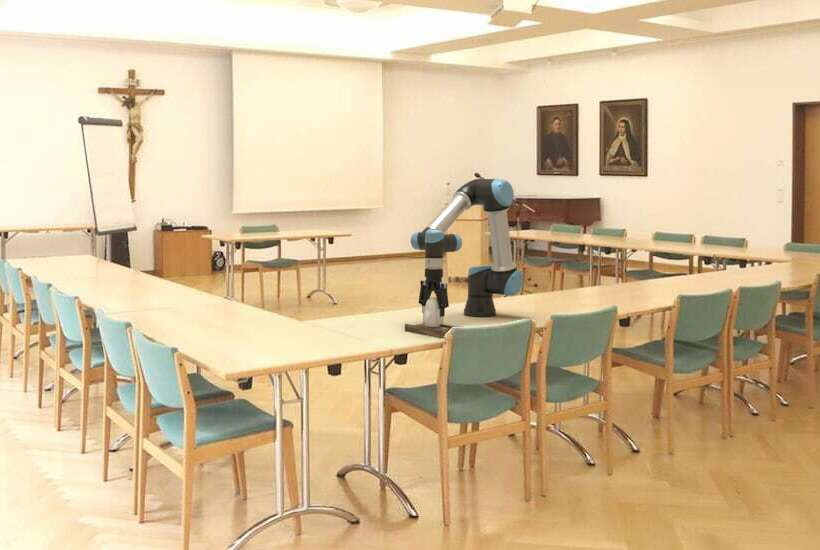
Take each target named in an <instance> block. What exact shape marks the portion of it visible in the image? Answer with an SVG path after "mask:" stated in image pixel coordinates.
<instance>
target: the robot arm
mask: <svg viewBox="0 0 820 550" xmlns="http://www.w3.org/2000/svg"><path fill="white" fill-rule="evenodd" d="M514 196H515V194H514V188H513V186H512V184H511V182H509V181H508V180H506V179H500V178H475V179H473V180H469V181H468V182H466V183H464V184H463V185H462V186H460V187H459V188H458V189H457V190H456V191H455V192H454V193H453V194H452V199H450V201H449V202H448V203H447V204H446V205H445V206H444V207H443V208H442V209H441V210H440V212H439V213H438V214H436V216H435V217H434V218H433V219H432V220H431V221H430V222H429V224H427V226H425V228H424V229H423V230H422V231H417V232H414V233H413V234H411V237H410V245H411V247H412V248H413V249H414V250H418V251H425V252H424V253H425V255H424V267H425V269H424V277H425V280H420V281H419V282H420V288H419V295H418V304H420V305H421V306H422V309H421V312H422V323H423V322H424V313H425V306H426V302H427V300H428V299H429V298H431V297H432V296H431V295H432V293H434V294H435V298H437V301H438V305H439V308H438V325H440V324H444V322H445V321H444V320H445V319H444V317H445V314H446V313H445V312H446V311H445V309H447V308H449V297H448V283H446V282H445V283H444V282H443V280H442V279H443V278H444V269H443V268H444V253H454V252H458V251H459V250H461V248H462V246H463V239H462V237H461V236H460V235H459V234H458V233H446V232H447V231H448V230H449V228H450V227H452V225H454V223H455V221H457V220H458V218H459V217H460V216H461V215H463V213H464V212H465V211H468V210H470V209H471V207H473V206H478V205H479V206H483V212H484V213H486V214H487V218H488V226H489V227H488V228H489V237H490V243H491V252H492V253H491V254H492V260H493V264H487V265H477V266H476V265H475V266H470V267H469V269H468V272H467V273H468V274H467V299H466V303H465V306H464V308H463V315H465V316H469V317H475V318H476V317H478V318H485V317H489V318H490V317H494V316H497V309H496V308H495V307H496V305H495V302H494V299H493V298H494V297H493V296H494V295H501V296H506V297H507V296H510V297H512V296H513V297H514V296H516V295H518V294H519V293H520V291H521V290H522V287H523V283H524V275H523V273H522V272H521V271H520V270H518V269H517V264H516V263H515V262H514V261H513V255H512V244H511V238H510V237H511V236H510V229H509V221H508V210H509V209H510V207H511V205H512V203H513V201H514V199H515V198H514ZM444 325H445V324H444Z"/></svg>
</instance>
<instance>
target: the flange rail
mask: <svg viewBox="0 0 820 550" xmlns="http://www.w3.org/2000/svg"><path fill="white" fill-rule="evenodd" d="M452 327H456V326H454V325H449V324H440V326H438V327H427V326H425V323H424V322H423V321H422V323H417V324H409V323H404V332H408V333H414V334H419V335H422V336H427V335H429V336H428V337H432V336H434V338H437V337H438V338H437V339H445V338H444V336H445V334H446V333H447V332H448V331H449V330H450V329H451V328H452Z"/></svg>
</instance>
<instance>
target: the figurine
mask: <svg viewBox="0 0 820 550" xmlns="http://www.w3.org/2000/svg"><path fill="white" fill-rule="evenodd" d="M438 308H439V305H438V301H437V298H436V296H433V297H432V296H431V297H430V298H429V299H428V300H427V302H426V306H425V313H424V323H425V326H427V327H438V326H440V325H438Z"/></svg>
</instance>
